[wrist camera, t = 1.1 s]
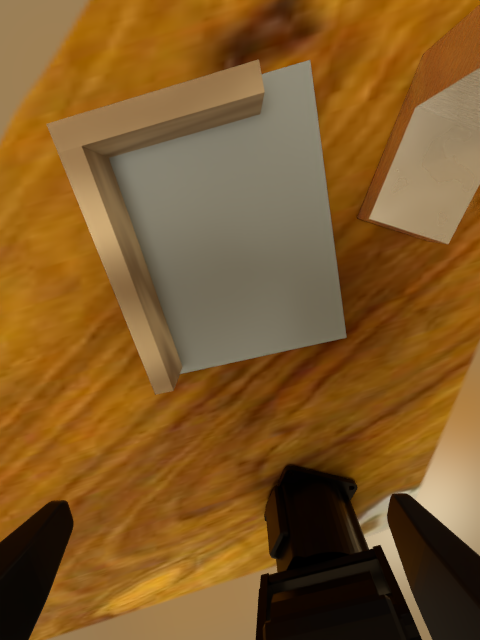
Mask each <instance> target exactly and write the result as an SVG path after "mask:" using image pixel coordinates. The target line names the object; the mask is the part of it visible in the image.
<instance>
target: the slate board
mask: <svg viewBox="0 0 480 640" xmlns="http://www.w3.org/2000/svg"><path fill="white" fill-rule="evenodd" d="M262 80H263V86H264V91H265V93H264V98H263V103H262V108H261V113H260V114H259V115H256V116H252V117H249V118H245V119H242V120H238V121H235V122H231V123H228V124H224V125H221V126H217V127H214V128H211V129H207V130H204V131H200V132H197V133H193V134H190V135H186V136H183V137H179V138H176V139H172V140H169V141H165V142H162V143H158V144H155V145H152V146H148V147H145V148H141V149H138V150H134V151H131V152H127V153H124V154H120V155H117V156H113V157H110V158H109V160H110V163H111V166H112V168H113V171H114V174H115V177H116V180H117V183H118V185H119V188H120V191H121V194H122V197H123V200H124V202H125V205H126V208H127V211H128V214H129V217H130V219H131V222H132V225H133V228H134V231H135V234H136V237H137V239H138V242H139V245H140V248H141V251H142V254H143V256H144V259H145V262H146V265H147V268H148V271H149V273H150V276H151V279H152V282H153V285H154V288H155V290H156V293H157V296H158V299H159V302H160V305H161V307H162V310H163V313H164V316H165V319H166V322H167V325H168V327H169V330H170V333H171V336H172V339H173V342H174V344H175V347H176V350H177V353H178V356H179V359H180V361H181V364H182V370H181V372H180V374H182V373H187V372H192V371H196V370H201V369H205V368H210V367H214V366H219V365H224V364H228V363H233V362H237V361H242V360H246V359H251V358H256V357H260V356H265V355H269V354H274V353H278V352H283V351H288V350H292V349H297V348H301V347H306V346H311V345H315V344H320V343H324V342H329V341H333V340H338V339H343V338H347V337H346V329H345V322H344V314H343V306H342V299H341V291H340V284H339V276H338V268H337V261H336V253H335V246H334V238H333V230H332V223H331V215H330V207H329V200H328V192H327V185H326V177H325V169H324V162H323V154H322V147H321V139H320V131H319V124H318V116H317V108H316V101H315V93H314V86H313V78H312V70H311V63H310V60H308V61H305V62H301V63H298V64H295V65H291V66H288V67H285V68H281V69H278V70H275V71H271V72H268V73H265V74H262Z"/></svg>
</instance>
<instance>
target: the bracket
mask: <svg viewBox="0 0 480 640" xmlns="http://www.w3.org/2000/svg"><path fill="white" fill-rule="evenodd" d="M479 184H480V5H479V6H477V7H476V8H475V9H474V10H473V11H472V12H471V13H469V14H468V15H467V16H466V17H465V18H464V19H463V20H462V21H460V22H459V23H458V24H457V25H456V26H455V27H454V28H452V29H451V30H450V31H449V32H448V33H447V34H446V35H444V36H443V37H442V38H441V39H440V40H439V41H438V42H437V43H435V44H434V45H433V46H432V47H431V48H430V49H429V50H427V51H426V52H425V53H424V54H423V56H422V59H421V61H420V63H419V66H418V68H417V71H416V73H415V76H414V78H413V81H412V83H411V86H410V88H409V91H408V93H407V96H406V98H405V101H404V103H403V106H402V108H401V111H400V113H399V116H398V118H397V120H396V123H395V125H394V128H393V130H392V133H391V135H390V138H389V140H388V143H387V145H386V148H385V150H384V153H383V155H382V158H381V160H380V163H379V165H378V168H377V170H376V172H375V175H374V177H373V180H372V182H371V185H370V187H369V190H368V192H367V195H366V197H365V200H364V202H363V205H362V207H361V210H360V212H359V215H358V217H357V219H360V220H364V221H367V222H370V223H373V224H376V225H379V226H382V227H385V228H389V229H392V230H395V231H398V232H401V233H404V234H407V235H410V236H413V237H417V238H420V239H423V240H426V241H429V242H436V243H443V244H449V242H450V240H451V238H452V236H453V234H454V232H455V230H456V228H457V226H458V224H459V223H460V221H461V219H462V217H463V215H464V213H465V211H466V209H467V207H468V205H469V203H470V201H471V199H472V198H473V196H474V194H475V192H476V190H477V188H478V186H479Z"/></svg>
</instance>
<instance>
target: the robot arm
mask: <svg viewBox="0 0 480 640" xmlns="http://www.w3.org/2000/svg"><path fill="white" fill-rule="evenodd" d="M356 490H357V485H356V482H355V481H354V480H352V479H347V478H343V477H339V476H334V475H330V474H325V473H321V472H317V471H312V470H308V469H304V468H299V467H295V466H287V467H286V468H285V469H284V471H283V473H282V476H281V478H280V480H279V482H278V485H276V486H275V487H274V489H273V491H272V493H271V495H270V498H269V500H268V502H267V504H266V511H265V514H264V517H265V521H266V522H267V531H268V542H269V554H270V556H271V557H272V558H274V559H276V562H277V572H278V573H274V574H270V575H269V574H268V573H267V574H263V575H261V582H260V589H259V597H258V598H259V599H258V613H257V628H256V640H422V639H421V636H420V634H419V632H418V629H417V627H416V624H415V622H414V620H413V617H412V615H411V613H410V610H409V608H408V606H407V604H406V601H405V599H404V597H403V595H402V592H401V590H400V588H399V586H398V583H397V581H396V579H395V577H394V575H393V572H392V570H391V568H390V565H389V563H388V561H387V559H386V557H385V554H384V552H383V550H382V548H381V546H380V545H378V546H374V547H373V549H370V550H369V548H368V545H367V543H366V540H365V538H364V535H363V532H362V530H361V527H360V525H359V522H358V519H357V517H356V514H355V512H354V509H353V506H352V504H351V501H350V500H351V498H352V497H353V495H354V493H355V492H356ZM387 519H388V524H389V527H390V530H391V533H392V536H393V538H394V541H395V545H396V547H397V550H398V553H399V556H400V559H401V562H402V565H403V568H404V571H405V574H406V576H407V580H408V582H409V585H410V588H411V591H412V593H413V595H414V598H415V601H416V603H417V605H418V607H419V610H420V612H421V614H422V617H423V619H424V621H425V624H426V626H427V628H428V630H429V633H430V635H431V637H432V639H433V640H480V556H479V555H478V554H477V553H476V552H475V551H473V550H472V549H471V548H470V547H469V546H468V545H467V544H465V543H464V542H463V541H462V540H461V539H459V538H458V537H457V536H456V535H455V534H454V533H453V532H451V531H450V530H449V529H448V528H447V527H446V526H445V525H443V524H442V523H441V522H440V521H439V520H438V519H437V518H435V517H434V516H433V515H432V514H431V513H429V512H428V511H427V510H426V509H425V508H424V507H423V506H421V505H420V504H419V503H418V502H417V501H416V500H415V499H413V498H412V497H411V496H410V495H408V494H405V493H398V494H392V495H391V498H390V503H389V508H388V513H387ZM72 530H73V517H72V514H71V511H70V508H69V505H68V502H67V501H65V500H59V501H51V502H49V503H47V504H46V505H45V506H44V507H42V508H41V509H40V510H39V511H38V512H36V513H35V514H34V515H33V516H32V517H30V518H29V519H28V520H27V521H26V522H24V523H23V524H22V525H21V526H19V527H18V528H17V529H16V530H15V531H13V532H12V533H11V534H10V535H9V536H7V537H6V538H5V539H4V540H3V541H1V542H0V640H29V637H30V635H31V633H32V631H33V629H34V627H35V624H36V622H37V620H38V618H39V616H40V613H41V611H42V609H43V607H44V604H45V602H46V600H47V597H48V595H49V592H50V590H51V587H52V585H53V582H54V579H55V576H56V574H57V571H58V568H59V565H60V563H61V560H62V557H63V554H64V552H65V549H66V546H67V544H68V541H69V538H70V535H71V533H72Z"/></svg>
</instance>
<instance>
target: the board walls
mask: <svg viewBox="0 0 480 640" xmlns="http://www.w3.org/2000/svg"><path fill="white" fill-rule="evenodd" d="M264 93H265V91H264V86H263V80H262V74H261V69H260V63H259V60H256V61H252V62H249V63H246V64H243V65H239V66H236V67H233V68H229V69H226V70H223V71H220V72H216V73H213V74H210V75H206V76H203V77H200V78H197V79H193V80H190V81H187V82H183V83H180V84H177V85H174V86H170V87H167V88H164V89H160V90H157V91H154V92H150V93H147V94H144V95H141V96H137V97H134V98H131V99H127V100H124V101H121V102H118V103H114V104H111V105H108V106H104V107H101V108H98V109H95V110H91V111H88V112H85V113H81V114H78V115H75V116H72V117H68V118H65V119H62V120H58V121H55V122H52V123H48V124H47V126H48V129H49V131H50V134H51V136H52V139H53V141H54V144H55V146H56V149H57V151H58V154H59V156H60V159H61V161H62V164H63V166H64V169H65V171H66V174H67V176H68V179H69V181H70V184H71V186H72V189H73V191H74V194H75V196H76V199H77V201H78V203H79V206H80V208H81V211H82V213H83V216H84V218H85V221H86V223H87V226H88V228H89V231H90V233H91V236H92V238H93V241H94V243H95V246H96V248H97V251H98V253H99V256H100V258H101V261H102V263H103V266H104V268H105V271H106V273H107V276H108V278H109V280H110V283H111V285H112V288H113V290H114V293H115V295H116V298H117V300H118V303H119V305H120V308H121V310H122V313H123V315H124V318H125V320H126V323H127V325H128V328H129V330H130V333H131V335H132V338H133V340H134V343H135V345H136V348H137V350H138V353H139V355H140V357H141V360H142V362H143V365H144V367H145V370H146V372H147V375H148V377H149V380H150V382H151V385H152V387H153V390H154V392H155V395H156V394H160V393H165V392H170V391H174V388H175V386H176V383H177V380H178V378H179V375H180V372H181V370H182V364H181V361H180V359H179V356H178V353H177V350H176V347H175V344H174V342H173V339H172V336H171V333H170V330H169V327H168V325H167V322H166V319H165V316H164V313H163V310H162V307H161V305H160V302H159V299H158V296H157V293H156V290H155V288H154V285H153V282H152V279H151V276H150V273H149V271H148V268H147V265H146V262H145V259H144V256H143V254H142V251H141V248H140V245H139V242H138V239H137V237H136V234H135V231H134V228H133V225H132V222H131V219H130V217H129V214H128V211H127V208H126V205H125V202H124V200H123V197H122V194H121V191H120V188H119V185H118V183H117V180H116V177H115V174H114V171H113V168H112V166H111V163H110V160H109V158H110V157H113V156H117V155H120V154H124V153H127V152H131V151H134V150H138V149H141V148H145V147H148V146H152V145H155V144H158V143H162V142H165V141H169V140H172V139H176V138H179V137H183V136H186V135H190V134H193V133H197V132H200V131H204V130H207V129H211V128H214V127H217V126H221V125H224V124H228V123H231V122H235V121H238V120H242V119H245V118H249V117H252V116H256V115H259V114H260V113H261V108H262V103H263V98H264Z"/></svg>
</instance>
